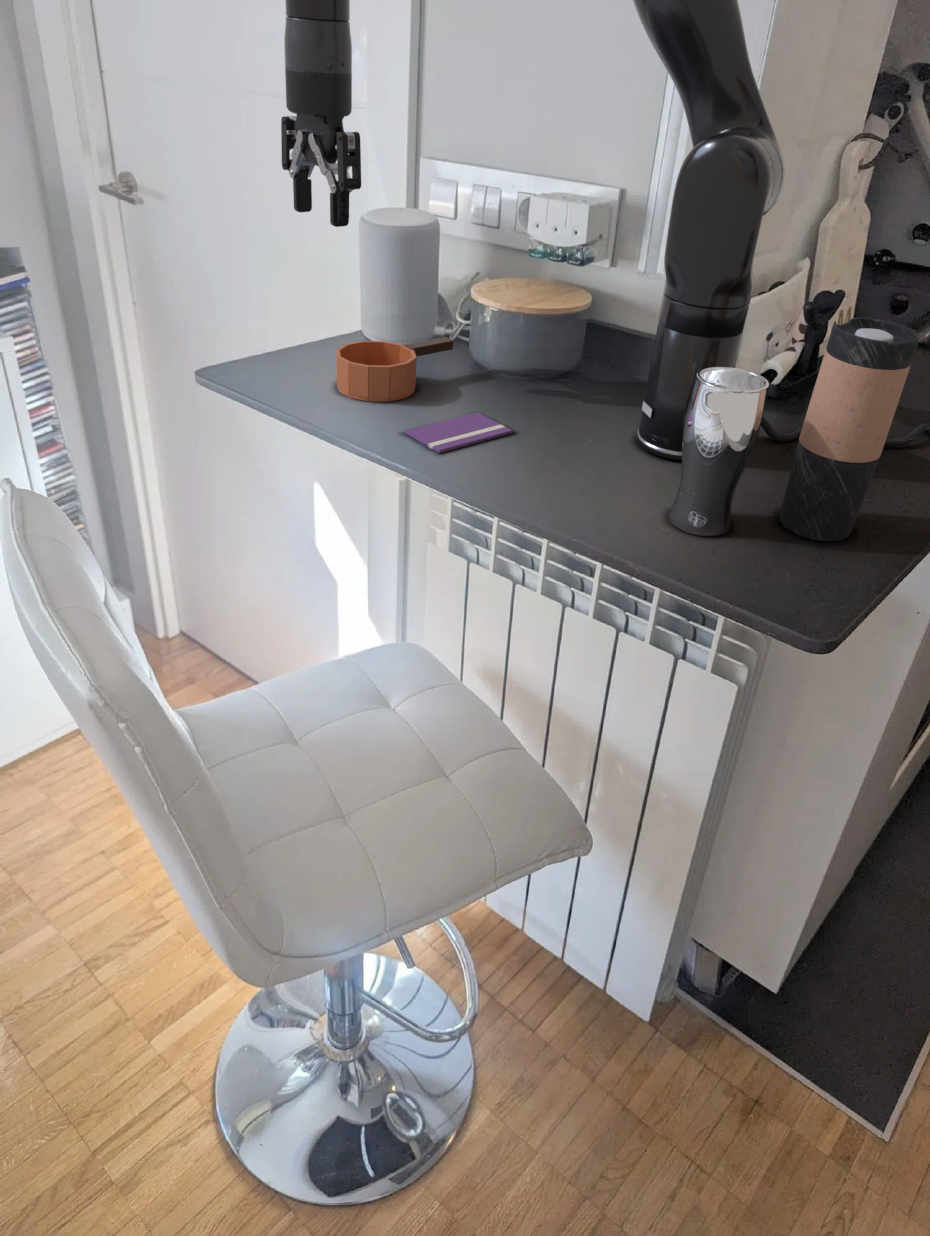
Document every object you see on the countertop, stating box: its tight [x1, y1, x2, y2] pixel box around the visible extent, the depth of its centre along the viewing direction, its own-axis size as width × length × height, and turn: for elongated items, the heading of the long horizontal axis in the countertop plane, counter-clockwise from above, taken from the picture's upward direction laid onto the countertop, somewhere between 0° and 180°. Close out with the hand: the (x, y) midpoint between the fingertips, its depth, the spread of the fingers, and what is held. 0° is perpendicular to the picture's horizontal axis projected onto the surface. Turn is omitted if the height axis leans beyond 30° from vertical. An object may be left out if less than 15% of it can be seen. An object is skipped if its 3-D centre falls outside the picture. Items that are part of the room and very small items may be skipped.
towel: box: [404, 412, 513, 454], centre depth 107 cm, size 11×6×1 cm, turn 129°
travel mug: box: [779, 317, 920, 542], centre depth 88 cm, size 8×8×20 cm
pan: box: [335, 336, 454, 403], centre depth 118 cm, size 17×10×5 cm, turn 129°
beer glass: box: [668, 367, 770, 537], centre depth 88 cm, size 7×7×15 cm
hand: (320, 218), depth 113 cm, fingers open, 8 cm apart
